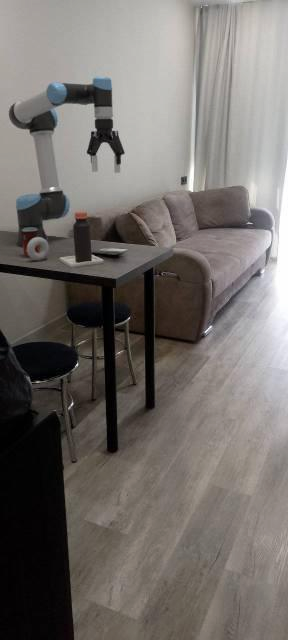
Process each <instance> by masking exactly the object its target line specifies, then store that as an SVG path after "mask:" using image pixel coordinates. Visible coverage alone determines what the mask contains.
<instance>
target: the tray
mask: <svg viewBox="0 0 288 640" xmlns="http://www.w3.org/2000/svg"><path fill="white" fill-rule="evenodd" d="M59 262H61V263H63V264H64V265H66V266H67V267H69V268H71V269H75V268H81V267H88V266H94V265H103V264H104V259H102V258H100V257H98V256H95V255H94V254H92V261H88V262H81V263H77V262H76V261H75V255H70V256H69V255H68V256H64V257H63V256H62V257H59Z"/></svg>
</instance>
